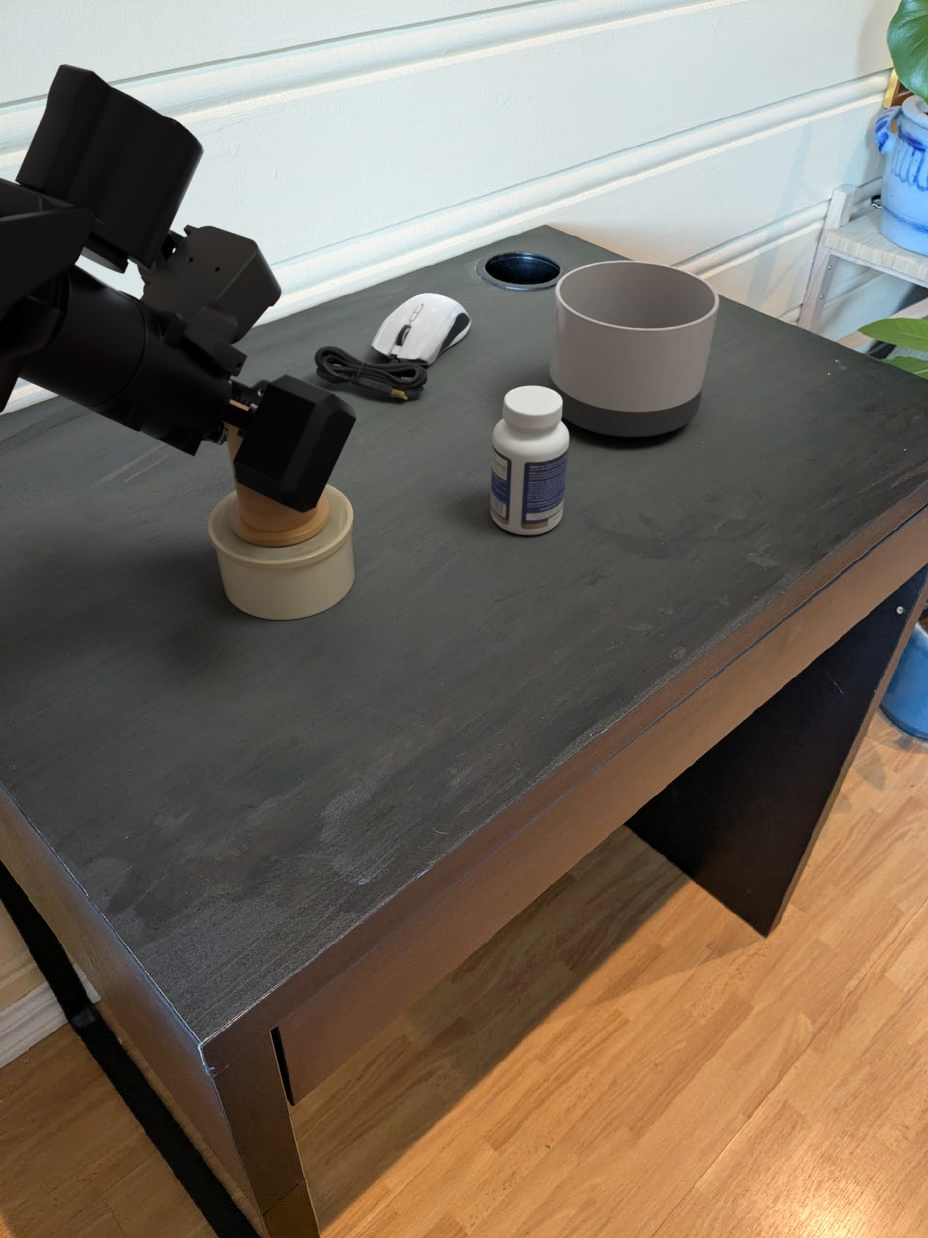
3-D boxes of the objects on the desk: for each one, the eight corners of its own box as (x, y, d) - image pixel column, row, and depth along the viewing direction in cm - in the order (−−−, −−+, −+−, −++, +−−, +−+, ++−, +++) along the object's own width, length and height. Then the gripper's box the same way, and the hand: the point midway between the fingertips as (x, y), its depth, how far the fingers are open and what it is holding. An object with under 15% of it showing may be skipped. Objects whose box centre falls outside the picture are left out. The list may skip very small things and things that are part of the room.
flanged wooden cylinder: (237, 554, 60) (215, 443, 54) (225, 496, 64) (204, 389, 59) (338, 536, 61) (327, 427, 56) (319, 481, 66) (308, 375, 60)
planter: (518, 419, 82) (524, 301, 74) (591, 360, 89) (603, 248, 82) (655, 468, 76) (676, 346, 69) (720, 400, 84) (744, 284, 77)
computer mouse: (495, 324, 95) (496, 284, 92) (413, 411, 82) (412, 368, 80) (404, 305, 98) (403, 266, 95) (312, 386, 85) (308, 345, 83)
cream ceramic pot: (229, 634, 62) (216, 575, 58) (213, 547, 68) (200, 489, 65) (371, 607, 64) (367, 548, 61) (343, 525, 71) (337, 467, 67)
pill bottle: (570, 502, 73) (581, 387, 66) (551, 544, 69) (561, 426, 62) (502, 488, 74) (507, 374, 67) (480, 528, 70) (483, 411, 64)
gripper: (312, 240, 42) (461, 373, 56) (49, 155, 50) (237, 290, 64) (207, 473, 42) (380, 547, 57) (-37, 352, 51) (168, 442, 65)
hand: (287, 446), depth 60 cm, fingers closed on flanged wooden cylinder, 5 cm apart
